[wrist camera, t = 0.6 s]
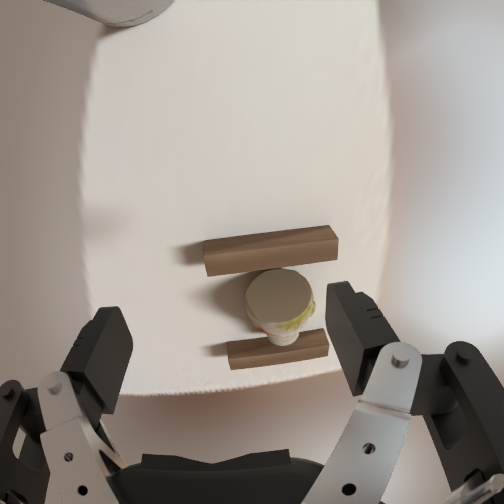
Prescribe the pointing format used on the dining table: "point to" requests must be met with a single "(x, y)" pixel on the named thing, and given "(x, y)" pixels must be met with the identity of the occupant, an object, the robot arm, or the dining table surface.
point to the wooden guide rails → (268, 257)
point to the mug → (279, 304)
